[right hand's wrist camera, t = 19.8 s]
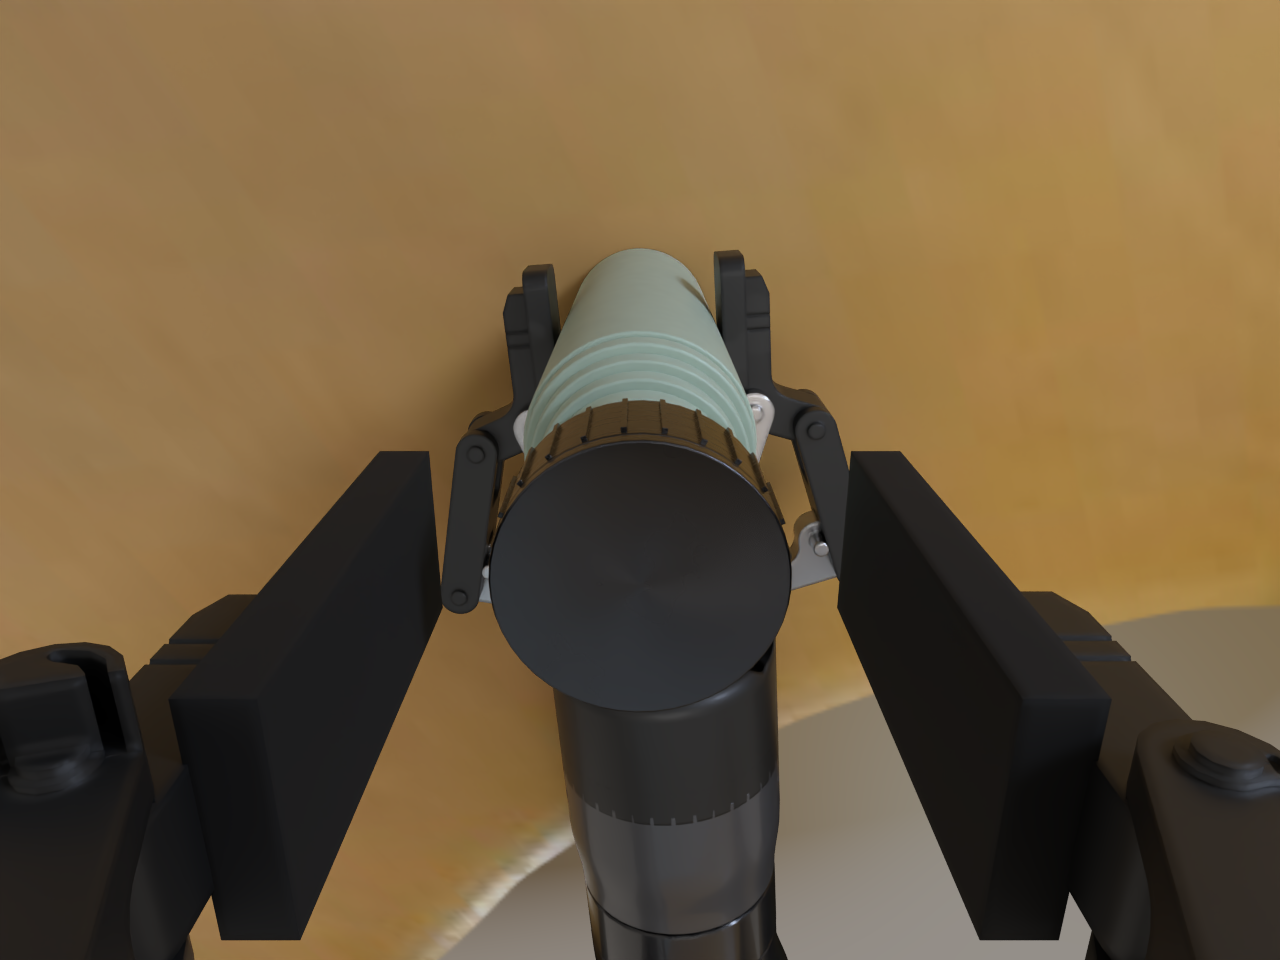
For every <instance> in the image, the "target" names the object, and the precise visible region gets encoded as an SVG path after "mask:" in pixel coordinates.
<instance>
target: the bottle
mask: <svg viewBox="0 0 1280 960" xmlns="http://www.w3.org/2000/svg"><path fill="white" fill-rule="evenodd" d="M624 398H628V401H631V400H649V401H660V399H664V400H665V401H666V403H670V404H675V405H680V406H682V407H685V408H688V409H691V410H694V411H695V410H696V409H698V410H701V413H702V415H704V416H706V417H708V418H710V419H712V420H714V421H715V422H717V423H718V424H719V425H721V426H722V427H724V428H725V429H727V427H729V428H730V429H731V430H732V432H733V435H734V437H735V438H737V439H738V440H739V441H740V442H741V444H742V445H743V446H744V447H745V448H746V450H747V451H748V452H749V453H750V454H751V453H752V452H753V453H754V454H755V455H756V447H757V436H756V425H755V420H754V416H753V411H752V409H751V406H750V403H749V400H748V398H747V395H746V393H745V391H744V388H743V386H742V384H741V381H740V379H739V377H738V374H737V372H736V370H735V367H734V365H733V363H732V360H731V358H730V356H729V353H728V351H727V349H726V347H725V344H724V342H723V340H722V337H721V335H720V333H719V330H718V328H717V326H716V323H715V321H714V319H713V316H712V314H711V312H710V309H709V307H708V305H707V302H706V300H705V298H704V295H703V293H702V291H701V288H700V286H699V284H698V282H697V281H696V279H695V277H694V276H693V275H692V273H691V272H690V271H689V270H688V269H687V268H686V267H685V266H684V265H683V264H682V263H681V262H679V261H678V260H677V259H675V258H673V257H672V256H670V255H668V254H665V253H663V252H660V251H656V250H652V249H644V248H636V249H628V250H624V251H620V252H617V253H615V254H612V255H610V256H609V257H607V258H605V259H603V260H602V261H601V262H599V263H598V264H597V265H596V266H595V267H594V268H593V269H592V270H591V271H590V272H589V273H588V275H587V276H586V277H585V279H584V281H583V283H582V284H581V286H580V289H579V291H578V293H577V296H576V298H575V300H574V303H573V305H572V307H571V310H570V312H569V314H568V317H567V319H566V321H565V324H564V326H563V328H562V331H561V333H560V335H559V338H558V340H557V342H556V345H555V347H554V349H553V352H552V354H551V356H550V359H549V361H548V363H547V366H546V368H545V370H544V373H543V375H542V378H541V380H540V382H539V385H538V387H537V389H536V392H535V394H534V396H533V399H532V401H531V404H530V406H529V409H528V413H527V417H526V421H525V427H524V437H523V440H524V461H525V459H526V456H527V454H528V451H529V449H530V448H531V447H533V448H535V447H536V446H537V445H538V444H539V443H540V442H541V441H542V440H543V439H544V438H545V437H546V436H547V435H548V434H549V433H550V432H552V431H553V428H554V425H556V424H557V423H559V424H560V425H561V424H562V423H564V422H565V421H567V420H569V419H570V418H572V417H574V416H576V415H578V414H580V413H582V412H585V411H586V408H587V407H590V406H591V407H592V408H595V407H598V406H602V405H605V404H609V403H615V402H621V401H622V399H624Z"/></svg>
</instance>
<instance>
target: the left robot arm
mask: <svg viewBox="0 0 1280 960" xmlns="http://www.w3.org/2000/svg"><path fill="white" fill-rule="evenodd" d="M714 279H715V301H716V323H717V328H718V330H719V333H720V335H721V337H722V340H723V342H724V344H725V347H726V349H727V351H728V353H729V356H730V358H731V360H732V363H733V365H734V367H735V370H736V372H737V374H738V377H739V379H740V381H741V384H742V386H743V388H744V391H745V393H746V395H747V398H748V400H749V403H750V406H751V409H752V411H753V416H754V420H755V425H756V436H757V447H756V458H757V461H758V463H759V461H760V458H761V455H762V452H763V449H764V446H765V443H766V440H767V437H768V434H771V435H775V436H778V437H782V438H786V439H789V440H791V441H792V444H793V448H794V451H795V454H796V458H797V461H798V465H799V468H800V471H801V475H802V478H803V482H804V485H805V488H806V492H807V495H808V499H809V502H810V505H811V509H812V511H809V512H806V513H804V514H802V515H801V516H799V518H798V519H797V520H796V522H795V524H794V541H793V544H792V545H791V547H790V548H789V549H790V551H791V554H792V559H791V565H792V588H791V590H795V589H798V588H801V587H805V586H808V585H811V584H815V583H818V582H822V581H825V580H828V579H832V578H835V577H837V578H838V580H839V581H840V572H841V560H842V549H843V538H844V526H845V515H846V504H847V492H848V481H849V469H848V465H847V461H846V458H845V454H844V450H843V447H842V443H841V440H840V436H839V432H838V429H837V425H836V422H835V420H834V418H833V417H832V415H831V414H830V413H829V411H828V410H827V408H826V407H825V406H824V404H823V403H822V401H821V400H820V399H819V397H818V396H817V395H816V394H815V393H814V392H812V391H810V390H807V389H799V390H795V389H791V388H788V387H784V386H781V385H779V384H777V383H775V382H774V381H773V380H772V376H771V340H770V298H769V291H768V289H767V287H766V284H765V282H764V280H763V278H762V276H761V275H760V273H759V272H758V271H757V270H756V269H753V270H745V265H744V258H743V255H742V254H741V253H740V251H739V250H730V251H717V252H714ZM522 284H523V287H514V288H513V289H512V291H511V292H510V293H509V294H508V296H507V299H506V303H505V307H504V311H503V318H504V325H505V332H506V340H507V346H508V356H509V363H510V371H511V378H512V386H513V394H514V399H513V401H512V402H511V403H510V404H509V405H507V406H505V407H503V408H500V409H498V410H496V411H494V412H489V411H488V412H482V413H480V414H478V415H477V416H475V418H474V419H473V420H472V422H471V424H470V425H469V428H468V431H467V433H466V434H465V435H464V436H463V437H462V438H461V440H460V442H459V443H458V445H457V447H456V453H455V462H454V472H453V481H452V490H451V499H450V509H449V518H448V527H447V536H446V545H445V555H444V564H443V573H442V582H441V594H442V604H443V605H444V606H445V607H446V608H447V609H448V610H449V611H451V612H454V613H458V614H464V613H468V612H470V611H472V610H473V609H474V608H475V607H476V606H477V604H478V601H480V602H486V603H491V599H490V591H489V582H488V576H489V560H490V554H491V552H489V547H490V545H491V542H492V539H493V537H494V534H495V530H496V522H497V515H498V507H499V499H500V492H501V484H502V476H503V468H504V461H505V460H506V459H508V458H510V457H513V456H515V455H517V454H520V453H522V452H523V453H524V440H523V437H524V427H525V421H526V417H527V413H528V409H529V406H530V404H531V401H532V399H533V396H534V394H535V392H536V389H537V387H538V385H539V382H540V380H541V378H542V375H543V373H544V370H545V368H546V366H547V363H548V361H549V359H550V356H551V354H552V352H553V349H554V347H555V345H556V342H557V340H558V338H559V335H560V333H561V329H560V320H559V310H558V301H557V292H556V283H555V275H554V269H553V265H552V264H543V265H530V266H528V267H527V268H526V269H525V270H524V271H523V274H522ZM553 691H554V699H555V707H556V714H557V722H558V730H559V737H560V745H561V753H562V761H563V769H564V776H565V784H566V791H567V799H568V806H569V813H570V821H571V826H572V832H573V836H574V839H575V843H576V846H577V849H578V853H579V856H580V859H581V862H582V865H583V870H584V875H585V883H586V891H587V899H588V907H589V915H590V923H591V931H592V938H593V945H594V951H595V957H596V960H788V959H787V956H786V954H785V951H784V949H783V947H782V945H781V942H780V940H779V938H778V936H777V933H776V899H775V866H774V853H775V845H776V839H777V833H778V825H779V804H780V795H779V758H778V716H777V678H776V640H775V639H774V641H773V642H772V644H771V645H770V647H769V648H768V650H767V651H766V653H765V654H764V655H763V656H762V657H761V659H760V660H759V661H758V662H757V663H756V664H755V665H754V667H753V668H751V669H750V670H749V671H748V672H747V673H746V674H745V675H744V676H742V677H741V678H740V679H739V680H737V681H736V682H734V683H733V684H732V685H730V686H729V687H727V688H726V689H724V690H722V691H720V692H718V693H717V694H715V695H713V696H711V697H709V698H706V699H704V700H701V701H699V702H696V703H694V704H691V705H687V706H683V707H679V708H675V709H670V710H663V711H656V712H626V711H616V710H611V709H606V708H600V707H597V706H594V705H590V704H587V703H584V702H581V701H579V700H577V699H574V698H572V697H570V696H567V695H565V694H563V693H562V692H560V691H558V690H557V689H555V688H553Z"/></svg>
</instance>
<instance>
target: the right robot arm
mask: <svg viewBox="0 0 1280 960" xmlns="http://www.w3.org/2000/svg"><path fill="white" fill-rule="evenodd" d="M442 608H443V605H442V594H441V583H440V572H439V560H438V549H437V538H436V526H435V515H434V504H433V492H432V481H431V470H430V459H429V451H380V452H379V453H378V454H377V455H376V456H375V458H374V459H373V460H372V461H371V462H370V463H369V465H368V466H367V467H366V468H365V469H364V470H363V472H362V473H361V474H360V475H359V476H358V477H357V479H356V480H355V481H354V482H353V483H352V484H351V486H350V487H349V488H348V489H347V490H346V491H345V493H344V494H343V495H342V496H341V497H340V498H339V500H338V501H337V502H336V503H335V504H334V506H333V507H332V508H331V509H330V510H329V511H328V513H327V514H326V515H325V516H324V517H323V518H322V520H321V521H320V522H319V523H318V524H317V525H316V527H315V528H314V529H313V530H312V531H311V532H310V534H309V535H308V536H307V537H306V538H305V539H304V541H303V542H302V543H301V544H300V545H299V546H298V548H297V549H296V550H295V551H294V552H293V553H292V555H291V556H290V557H289V558H288V559H287V561H286V562H285V563H284V564H283V565H282V566H281V568H280V569H279V570H278V571H277V572H276V573H275V575H274V576H273V577H272V578H271V579H270V580H269V582H268V583H267V584H266V585H265V586H264V587H263V589H262V590H261V591H260V592H259V593H258V594H257V595H227V596H225V597H223V598H222V599H220V600H218V601H216V602H215V603H213V604H211V605H209V606H208V607H206V608H204V609H202V610H201V611H199V612H197V613H195V614H193V615H192V616H191V617H190V618H189V619H188V620H187V621H186V622H185V623H184V624H183V625H182V626H181V627H180V629H179V630H178V631H177V632H176V633H175V634H174V635H173V636H172V637H171V638H170V639H169V644H164V645H163V646H162V647H161V648H160V649H159V650H158V652H157V653H156V654H155V655H154V656H153V657H152V658H151V659H150V664H149V665H144V666H143V667H142V668H141V669H140V670H139V671H138V672H137V674H136V675H135V676H134V677H133V678H132V679H131V680H130V681H129V679H128V675H127V671H126V666H125V662H124V658H123V655H121V654H120V653H119V652H117V651H116V650H114V649H113V648H111V647H110V646H106V645H100V644H93V643H87V642H82V643H67V644H54V645H49V646H45V647H40V648H36V649H32V650H27V651H23V652H19V653H16V654H14V655H11V656H8V657H6V658H3V659H0V960H194V953H193V949H192V945H191V941H190V936H189V933H190V931H191V929H192V928H193V926H194V924H195V922H196V921H197V919H198V917H199V915H200V914H201V912H202V910H203V908H204V907H205V905H206V903H207V901H208V900H209V898H210V896H212V900H213V905H214V909H215V914H216V918H217V923H218V927H219V932H220V937H221V940H301V937H302V935H303V932H304V930H305V928H306V925H307V923H308V921H309V918H310V916H311V914H312V911H313V909H314V907H315V904H316V902H317V900H318V897H319V895H320V893H321V890H322V888H323V886H324V883H325V881H326V879H327V876H328V874H329V872H330V869H331V867H332V865H333V862H334V860H335V858H336V855H337V853H338V851H339V848H340V846H341V844H342V841H343V839H344V837H345V834H346V832H347V830H348V827H349V825H350V823H351V820H352V818H353V816H354V813H355V811H356V809H357V806H358V804H359V802H360V799H361V797H362V795H363V792H364V790H365V788H366V785H367V783H368V781H369V778H370V776H371V774H372V771H373V769H374V767H375V764H376V762H377V760H378V757H379V755H380V753H381V750H382V748H383V746H384V743H385V741H386V739H387V736H388V734H389V732H390V729H391V727H392V725H393V722H394V720H395V718H396V715H397V713H398V711H399V708H400V706H401V704H402V701H403V699H404V697H405V694H406V692H407V690H408V687H409V685H410V683H411V680H412V678H413V676H414V673H415V671H416V669H417V666H418V664H419V662H420V659H421V657H422V655H423V652H424V650H425V648H426V645H427V643H428V641H429V638H430V636H431V634H432V631H433V629H434V627H435V624H436V622H437V620H438V617H439V615H440V613H441V610H442ZM837 608H838V610H839V613H840V615H841V617H842V620H843V622H844V624H845V627H846V629H847V631H848V634H849V636H850V638H851V641H852V643H853V645H854V648H855V650H856V652H857V655H858V657H859V659H860V662H861V664H862V666H863V669H864V671H865V673H866V676H867V678H868V680H869V683H870V685H871V687H872V690H873V692H874V694H875V697H876V699H877V701H878V704H879V706H880V708H881V711H882V713H883V715H884V718H885V720H886V722H887V725H888V727H889V729H890V732H891V734H892V736H893V739H894V741H895V743H896V746H897V748H898V750H899V753H900V755H901V757H902V760H903V762H904V764H905V767H906V769H907V771H908V774H909V776H910V778H911V781H912V783H913V785H914V788H915V790H916V792H917V795H918V797H919V799H920V802H921V804H922V806H923V809H924V811H925V813H926V816H927V818H928V820H929V823H930V825H931V827H932V830H933V832H934V834H935V837H936V839H937V841H938V844H939V846H940V848H941V851H942V853H943V855H944V858H945V860H946V862H947V865H948V867H949V869H950V872H951V874H952V876H953V879H954V881H955V883H956V886H957V888H958V890H959V893H960V895H961V897H962V900H963V902H964V904H965V907H966V909H967V911H968V914H969V916H970V918H971V921H972V923H973V925H974V928H975V930H976V932H977V935H978V937H979V940H1059V937H1060V932H1061V927H1062V923H1063V918H1064V914H1065V909H1066V905H1067V900H1068V896H1069V892H1070V893H1071V895H1072V897H1073V898H1074V900H1075V902H1076V904H1077V905H1078V907H1079V909H1080V911H1081V912H1082V914H1083V916H1084V917H1085V919H1086V921H1087V923H1088V924H1089V926H1090V928H1091V930H1092V932H1091V936H1090V941H1089V945H1088V949H1087V953H1086V958H1085V960H1280V751H1279V750H1278V749H1276V748H1275V747H1274V746H1272V745H1270V744H1269V743H1266V742H1264V741H1262V740H1260V739H1257V738H1255V737H1253V736H1251V735H1248V734H1246V733H1244V732H1242V731H1239V730H1236V729H1233V728H1229V727H1225V726H1221V725H1217V724H1214V723H1210V722H1206V721H1195V720H1192V719H1191V718H1190V717H1189V716H1188V715H1187V714H1186V713H1185V712H1184V711H1183V710H1182V709H1181V708H1180V707H1179V706H1178V705H1177V704H1176V703H1175V701H1174V700H1173V699H1172V698H1171V697H1170V696H1169V695H1168V694H1167V693H1166V692H1165V691H1164V690H1163V689H1162V688H1161V687H1160V686H1159V685H1158V684H1157V683H1156V682H1155V681H1154V680H1153V679H1152V678H1151V677H1150V676H1149V675H1148V673H1147V672H1146V671H1145V670H1144V669H1143V668H1142V667H1141V666H1140V665H1139V664H1138V663H1137V662H1136V661H1131V656H1130V655H1129V654H1128V653H1127V652H1126V651H1125V650H1124V649H1123V648H1122V646H1121V645H1120V644H1119V643H1118V642H1117V641H1112V639H1111V635H1110V634H1109V633H1108V632H1107V631H1106V630H1105V629H1104V628H1103V627H1102V626H1101V625H1100V624H1099V623H1098V622H1097V621H1096V620H1095V618H1094V617H1093V616H1092V615H1091V614H1090V613H1089V612H1087V611H1086V610H1084V609H1082V608H1080V607H1078V606H1077V605H1075V604H1073V603H1071V602H1070V601H1068V600H1066V599H1064V598H1062V597H1061V596H1059V595H1057V594H1055V593H1054V592H1020V591H1019V590H1018V589H1017V587H1016V586H1015V585H1014V584H1013V583H1012V582H1011V580H1010V579H1009V578H1008V577H1007V576H1006V575H1005V573H1004V572H1003V571H1002V570H1001V569H1000V568H999V566H998V565H997V564H996V563H995V562H994V561H993V559H992V558H991V557H990V556H989V555H988V553H987V552H986V551H985V550H984V549H983V548H982V546H981V545H980V544H979V543H978V542H977V541H976V539H975V538H974V537H973V536H972V535H971V534H970V532H969V531H968V530H967V529H966V528H965V527H964V525H963V524H962V523H961V522H960V521H959V520H958V518H957V517H956V516H955V515H954V514H953V513H952V511H951V510H950V509H949V508H948V507H947V506H946V504H945V503H944V502H943V501H942V500H941V498H940V497H939V496H938V495H937V494H936V493H935V491H934V490H933V489H932V488H931V487H930V486H929V484H928V483H927V482H926V481H925V480H924V479H923V477H922V476H921V475H920V474H919V473H918V472H917V470H916V469H915V468H914V467H913V466H912V465H911V463H910V462H909V461H908V460H907V459H906V458H905V456H904V455H903V454H902V453H901V452H900V451H851V458H850V470H849V481H848V492H847V504H846V515H845V526H844V538H843V549H842V560H841V572H840V583H839V594H838V605H837Z"/></svg>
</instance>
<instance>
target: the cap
mask: <svg viewBox="0 0 1280 960" xmlns="http://www.w3.org/2000/svg"><path fill="white" fill-rule="evenodd" d="M498 517H499V518H500V521H499V523H498V526H497V529H496V531H495V534H494V537H493V539H492V542H491V545H490V547H489V552H491V554H490V560H489V576H488V582H489V591H490V599H491V603H492V606H493V610H494V614H495V617H496V619H497V622H498V624H499V626H500V629H501V631H502V633H503V635H504V636H505V638H506V640H507V641H508V643H509V645H510V647H511V648H512V649H513V651H514V652H515V653H516V654H517V656H518V657H519V658H520V660H521V661H522V662H523V663H524V664H525V665H526V666H527V667H528V668H529V669H530V670H531V671H532V672H533V673H534V674H535V675H537V676H538V677H539V678H541V679H542V680H543V681H545V682H546V683H547V684H548V685H550V686H552V687H553V688H555V689H557V690H558V691H560V692H562V693H563V694H565V695H567V696H570V697H572V698H574V699H577V700H579V701H581V702H584V703H587V704H590V705H594V706H597V707H600V708H606V709H611V710H616V711H626V712H656V711H663V710H670V709H675V708H679V707H683V706H687V705H691V704H694V703H696V702H699V701H701V700H704V699H706V698H709V697H711V696H713V695H715V694H717V693H718V692H720V691H722V690H724V689H726V688H727V687H729V686H730V685H732V684H733V683H734V682H736V681H737V680H739V679H740V678H741V677H742V676H744V675H745V674H746V673H747V672H748V671H749V670H750V669H751V668H753V667H754V665H755V664H756V663H757V662H758V661H759V660H760V659H761V657H762V656H763V655H764V654H765V653H766V651H767V650H768V648H769V647H770V645H771V644H772V642H773V641H774V639H775V638H776V636H777V633H778V631H779V629H780V627H781V625H782V623H783V621H784V618H785V615H786V611H787V608H788V605H789V600H790V594H791V588H792V565H791V559H792V554H791V551H790V549H789V546H788V543H787V540H786V536H785V533H784V530H783V528H782V525H783V524H785V521H784V518H783V515H782V513H781V510H780V508H779V505H778V502H777V500H776V497H775V495H774V492H773V490H772V487H771V484H770V482H768V483H766V482H765V479H764V477H763V474H762V471H761V469H760V466H759V463H758V461H757V458H756V455H755V454H754V453H753V452H752V453H751V454H750V453H749V452H748V451H747V450H746V448H745V447H744V446H743V445H742V444H741V442H740V441H739V440H738V439H737V438H735V437H734V435H733V432H732V430H731V429H730V428H729V427H727V429H725V428H724V427H722V426H721V425H719V424H718V423H717V422H715V421H714V420H712V419H710V418H708V417H706V416H704V415H702V413H701V410H698V409H696V410H695V411H694V410H691V409H688V408H685V407H682V406H680V405H675V404H670V403H666V401H665V400H664V399H660V401H649V400H631V401H628V398H624V399H622V401H621V402H615V403H609V404H605V405H602V406H598V407H595V408H592V407H591V406H590V407H587V408H586V411H585V412H582V413H580V414H578V415H576V416H574V417H572V418H570V419H569V420H567V421H565V422H564V423H562V424H561V425H560V424H559V423H557V424H556V425H554V428H553V431H552V432H550V433H549V434H548V435H547V436H546V437H545V438H544V439H543V440H542V441H541V442H540V443H539V444H538V445H537V446H536V447H535V448H533V447H531V448H530V449H529V451H528V454H527V456H526V459H525V462H524V464H523V466H522V468H521V470H520V472H519V474H518V476H517V477H515V476H513V478H512V480H511V483H510V485H509V488H508V491H507V493H506V496H505V498H504V501H503V503H502V506H501V509H500V511H499V514H498Z"/></svg>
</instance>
